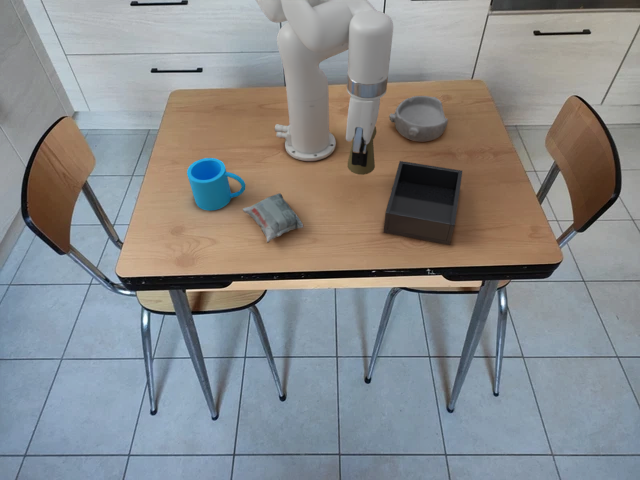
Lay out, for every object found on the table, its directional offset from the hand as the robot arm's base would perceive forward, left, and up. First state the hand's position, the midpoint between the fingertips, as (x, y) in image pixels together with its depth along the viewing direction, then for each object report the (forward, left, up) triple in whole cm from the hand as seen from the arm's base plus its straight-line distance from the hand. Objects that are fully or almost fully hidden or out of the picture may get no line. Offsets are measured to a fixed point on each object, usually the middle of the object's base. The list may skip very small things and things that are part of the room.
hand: (361, 157), depth 105 cm
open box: (+15, -4, -8) cm, 17 cm away
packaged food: (-15, -16, -9) cm, 24 cm away
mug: (-29, -11, -9) cm, 33 cm away
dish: (+10, +26, -9) cm, 29 cm away
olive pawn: (0, 0, -2) cm, 2 cm away
